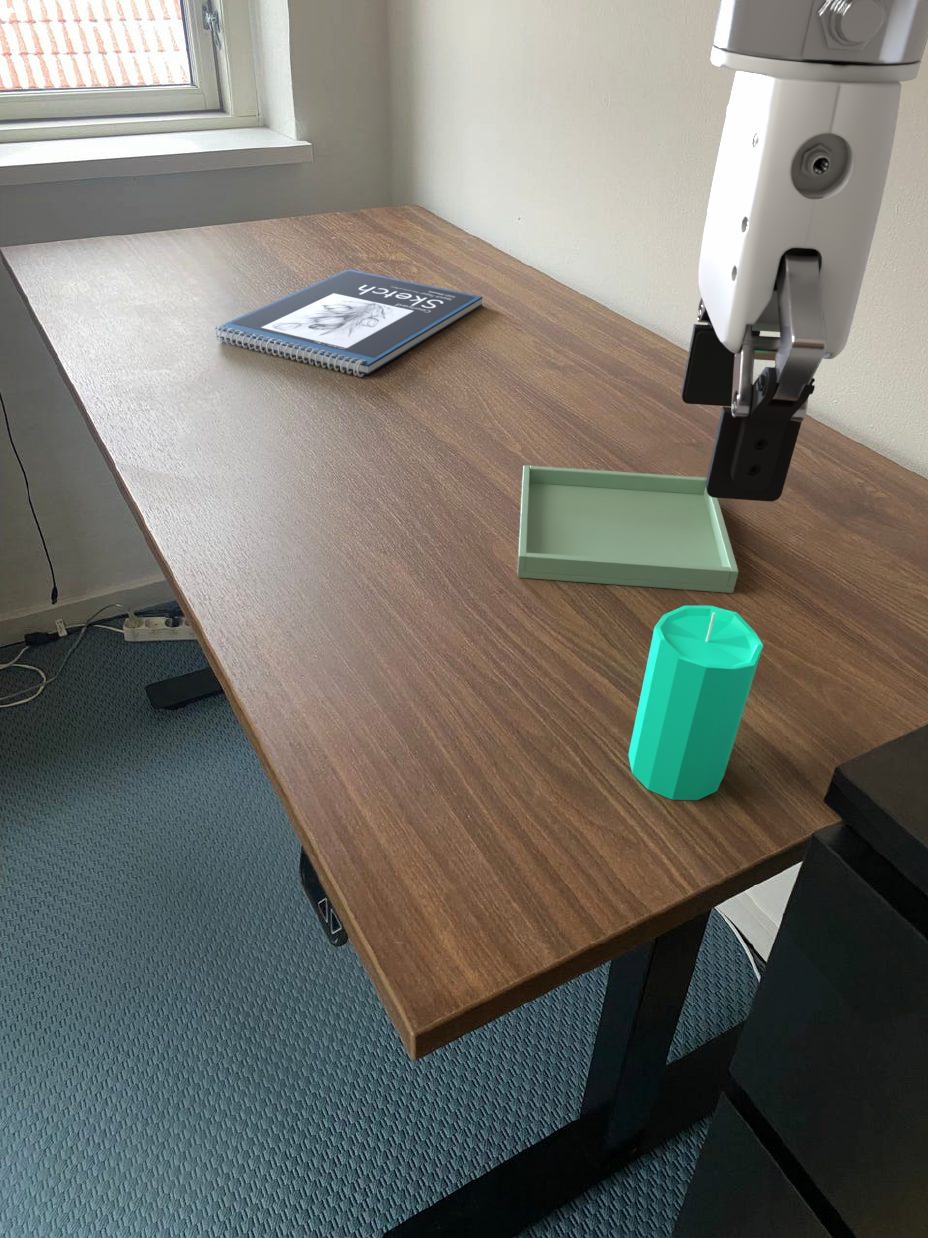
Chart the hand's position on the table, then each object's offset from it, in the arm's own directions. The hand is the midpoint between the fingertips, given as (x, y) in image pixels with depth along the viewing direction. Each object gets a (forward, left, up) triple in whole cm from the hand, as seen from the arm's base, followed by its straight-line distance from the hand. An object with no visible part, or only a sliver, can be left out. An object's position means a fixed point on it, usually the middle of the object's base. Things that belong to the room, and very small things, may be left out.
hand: (724, 445), depth 44 cm
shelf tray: (0, -28, -22) cm, 35 cm away
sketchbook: (+31, -75, -22) cm, 84 cm away
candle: (-2, -1, -22) cm, 23 cm away
